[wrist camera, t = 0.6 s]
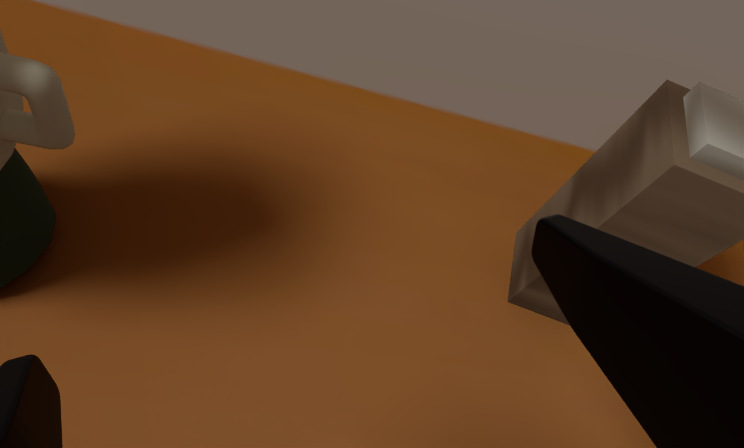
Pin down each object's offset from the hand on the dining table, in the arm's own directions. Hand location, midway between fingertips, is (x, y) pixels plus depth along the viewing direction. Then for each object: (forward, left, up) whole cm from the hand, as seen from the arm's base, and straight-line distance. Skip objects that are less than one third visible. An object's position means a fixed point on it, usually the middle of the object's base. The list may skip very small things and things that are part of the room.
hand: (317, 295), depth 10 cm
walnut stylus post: (+2, -17, -15) cm, 23 cm away
